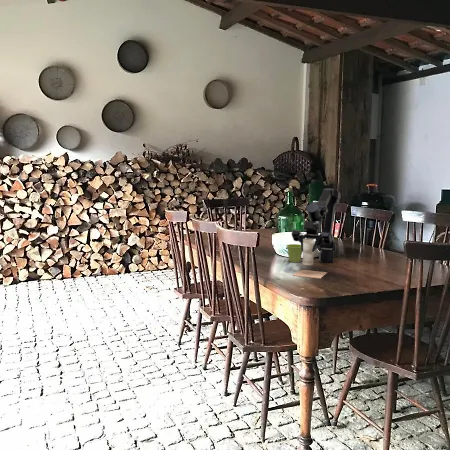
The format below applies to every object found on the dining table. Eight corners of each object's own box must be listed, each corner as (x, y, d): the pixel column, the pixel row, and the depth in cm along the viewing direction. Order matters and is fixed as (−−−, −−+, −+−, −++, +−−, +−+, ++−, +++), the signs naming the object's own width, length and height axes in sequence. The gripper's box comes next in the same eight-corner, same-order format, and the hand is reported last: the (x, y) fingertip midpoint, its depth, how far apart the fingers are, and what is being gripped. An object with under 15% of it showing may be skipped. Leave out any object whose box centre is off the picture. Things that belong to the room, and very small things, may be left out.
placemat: (300, 270, 241) (300, 269, 241) (326, 272, 236) (326, 272, 236) (293, 275, 229) (293, 275, 229) (320, 278, 224) (320, 277, 224)
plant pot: (304, 263, 258) (304, 247, 257) (286, 263, 259) (286, 246, 258) (302, 259, 268) (303, 244, 266) (285, 259, 268) (285, 244, 267)
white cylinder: (308, 262, 236) (309, 238, 234) (315, 264, 232) (316, 239, 230) (300, 263, 233) (301, 239, 232) (307, 265, 229) (307, 240, 228)
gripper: (293, 213, 237) (284, 239, 229) (330, 215, 229) (323, 242, 220) (297, 227, 245) (290, 253, 237) (334, 230, 237) (327, 256, 228)
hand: (307, 251), depth 230 cm, fingers closed on white cylinder, 5 cm apart
